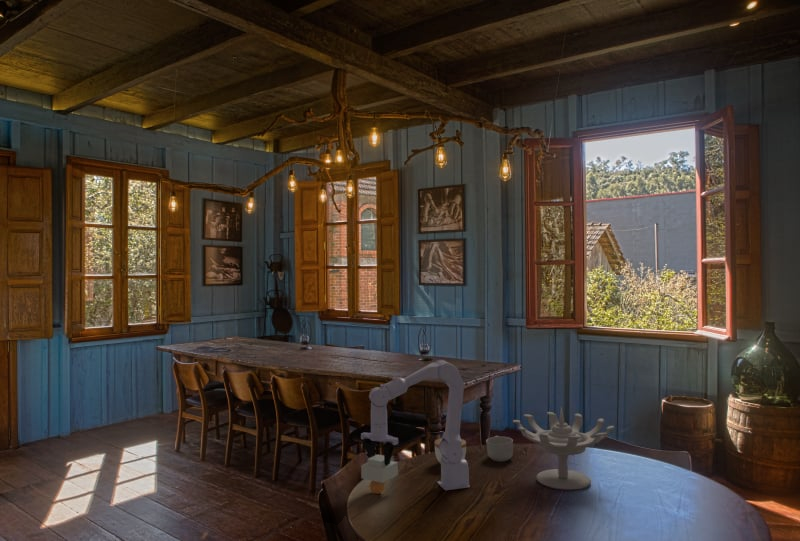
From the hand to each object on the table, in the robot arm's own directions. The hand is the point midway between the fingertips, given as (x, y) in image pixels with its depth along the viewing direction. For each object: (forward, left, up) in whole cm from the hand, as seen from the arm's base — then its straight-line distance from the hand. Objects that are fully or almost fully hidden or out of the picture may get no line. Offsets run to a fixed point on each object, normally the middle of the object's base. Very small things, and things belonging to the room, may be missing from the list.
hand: (379, 462), depth 190 cm
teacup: (-56, -20, -11) cm, 60 cm away
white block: (0, 0, -5) cm, 5 cm away
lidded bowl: (-34, -19, -11) cm, 40 cm away
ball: (+1, 0, -8) cm, 8 cm away
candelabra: (-65, +12, -11) cm, 67 cm away
